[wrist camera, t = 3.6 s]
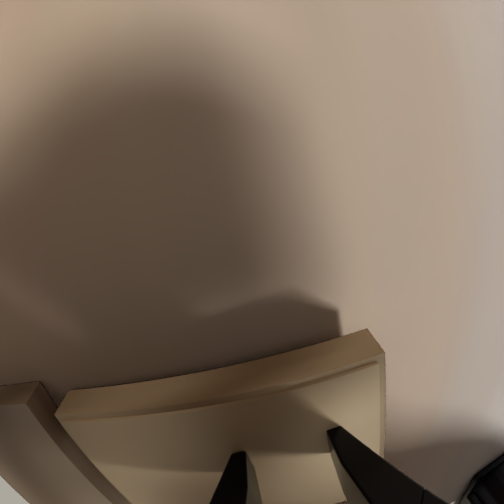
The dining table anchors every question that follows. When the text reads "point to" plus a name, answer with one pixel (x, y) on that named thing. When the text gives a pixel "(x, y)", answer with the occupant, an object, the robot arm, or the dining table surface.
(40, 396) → the tan wooden tile
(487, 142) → the dining table surface
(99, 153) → the dining table surface
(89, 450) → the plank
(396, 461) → the dining table surface
